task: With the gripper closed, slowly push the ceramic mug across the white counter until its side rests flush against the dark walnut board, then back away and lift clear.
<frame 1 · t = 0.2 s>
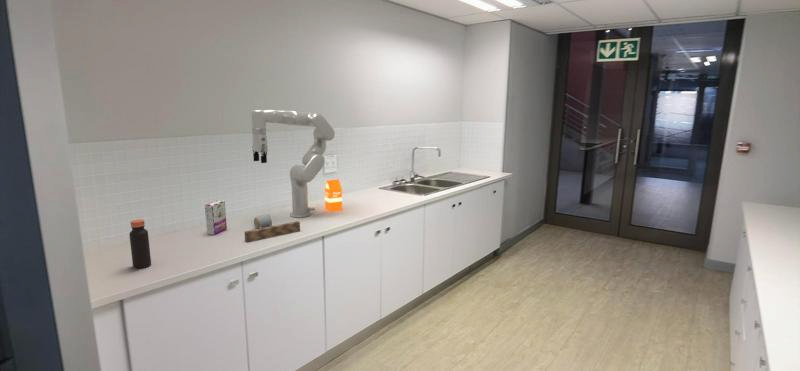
hand: (260, 161, 247), 36 cm above the table, tool pointing down, fingers open, 9 cm apart
bottle: (142, 266, 185), on the table
walnut board: (273, 235, 229), on the table
candy bar box: (217, 232, 234), on the table
ceramic mug: (264, 229, 241), on the table
orange juice: (333, 209, 285), on the table
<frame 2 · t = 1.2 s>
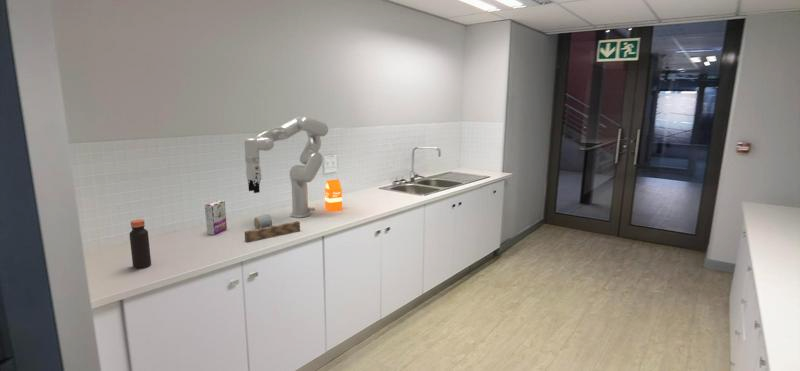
hand: (254, 191, 245), 20 cm above the table, tool pointing down, fingers open, 5 cm apart
nothing on the table moved.
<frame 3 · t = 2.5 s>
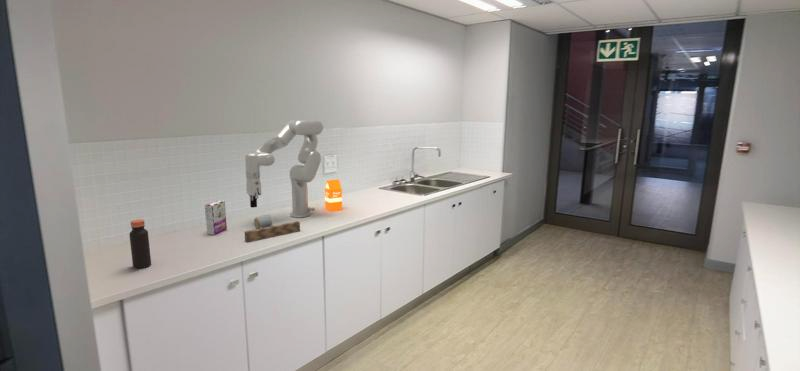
hand: (253, 206, 246), 11 cm above the table, tool pointing down, fingers closed
nothing on the table moved.
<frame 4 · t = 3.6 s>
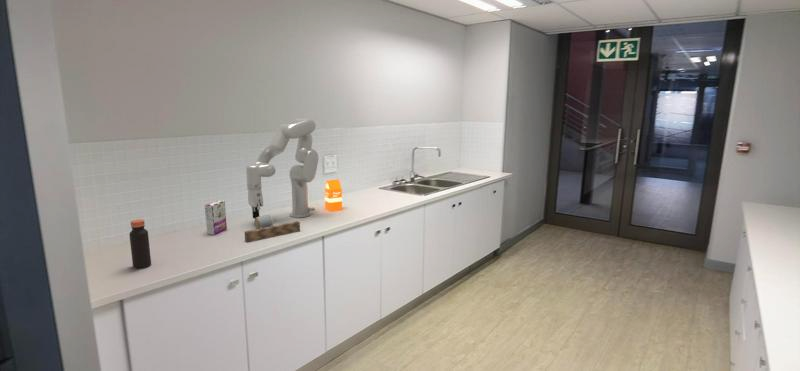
hand: (256, 217, 248), 4 cm above the table, tool pointing down, fingers closed
nothing on the table moved.
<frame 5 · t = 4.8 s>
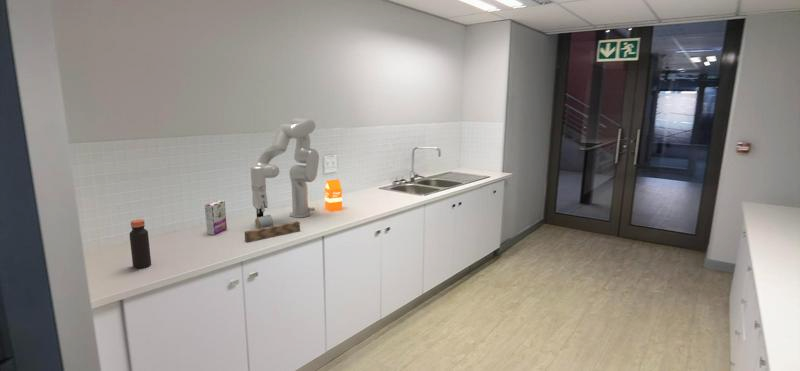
hand: (260, 219, 243), 4 cm above the table, tool pointing down, fingers closed
ceramic mug: (265, 230, 239), on the table, touching gripper
everything else where it was.
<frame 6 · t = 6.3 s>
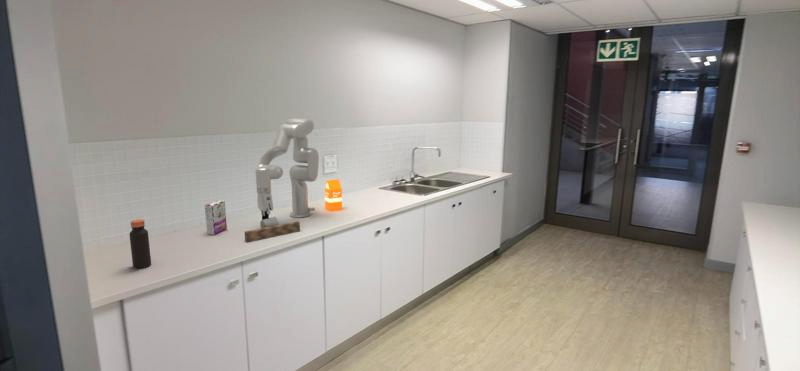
hand: (265, 222, 239), 4 cm above the table, tool pointing down, fingers closed
ceramic mug: (271, 232, 235), on the table, touching gripper, walnut board
everything else where it was.
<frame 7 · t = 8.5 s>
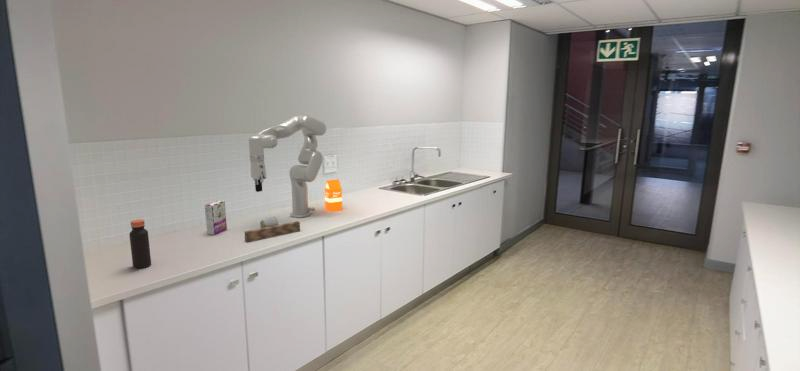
hand: (259, 191, 241), 21 cm above the table, tool pointing down, fingers closed
ceramic mug: (271, 232, 235), on the table
everything else where it was.
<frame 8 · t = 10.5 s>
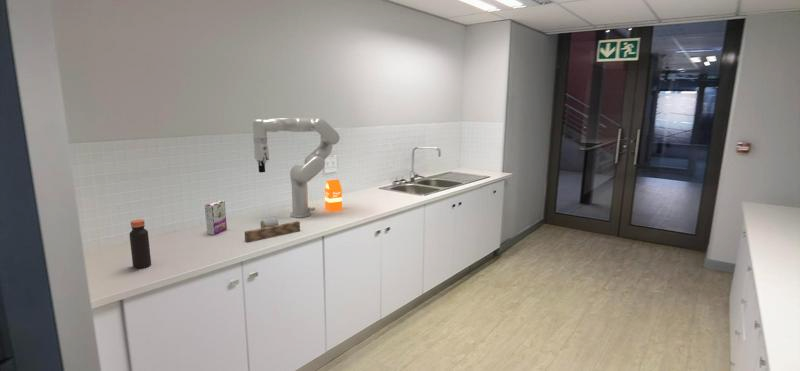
hand: (262, 172, 253), 29 cm above the table, tool pointing down, fingers closed
nothing on the table moved.
at the end: ceramic mug inside the target area on the table beside the walnut board (0.2 cm from its centre), on the table; ceramic mug tilted 1° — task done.
